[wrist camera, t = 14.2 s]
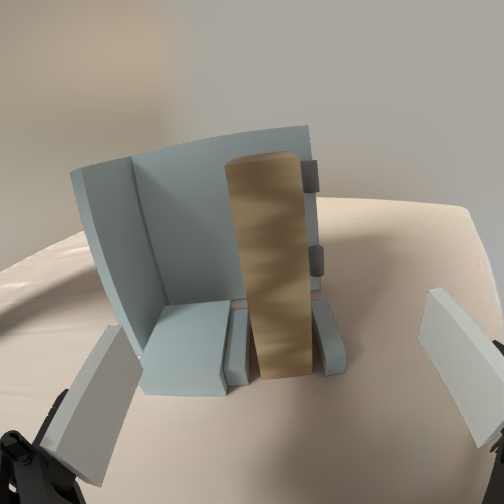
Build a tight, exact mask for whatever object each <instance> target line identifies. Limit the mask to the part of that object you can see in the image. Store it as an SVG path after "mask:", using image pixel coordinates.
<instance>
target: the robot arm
mask: <svg viewBox="0 0 504 504" xmlns="http://www.w3.org/2000/svg"><path fill="white" fill-rule="evenodd" d="M417 340H418V341H419V343H420V344H421V346H422V348H423V349H424V351H425V352H426V354H427V356H428V357H429V359H430V360H431V362H432V364H433V365H434V367H435V369H436V370H437V372H438V374H439V375H440V377H441V379H442V380H443V382H444V384H445V386H446V387H447V389H448V391H449V393H450V395H451V396H452V398H453V400H454V402H455V404H456V406H457V407H458V409H459V411H460V413H461V415H462V417H463V419H464V421H465V423H466V425H467V427H468V429H469V431H470V433H471V435H472V437H473V439H474V441H475V443H476V445H477V448H478V449H479V448H481V447H482V446H484V445H486V444H487V443H489V442H491V441H492V440H493V439H494V438H495V437H496V436H497V435H498V434H499V433H500V431H501V433H502V435H503V436H502V437H501V438H500V439H499V440H498V441H497V442H496V443H495V444H494V445H493V446H492V448H491V450H490V452H493V451H494V450H495V449H496V448H497V447H498V449H497V450H496V452H495V453H497V455H496V459H495V463H494V467H493V471H492V474H491V478H490V481H489V484H488V487H487V490H486V493H485V496H484V499H483V502H482V504H504V345H503V344H501V343H499V342H498V341H496V340H494V341H491V340H490V339H489V338H488V337H487V335H486V334H485V333H484V332H483V331H482V330H481V328H480V327H479V326H478V325H477V324H476V323H475V322H474V321H473V319H472V318H471V317H470V316H469V315H468V314H467V313H466V312H465V311H464V309H463V308H462V307H461V306H460V305H459V304H458V303H457V302H456V301H455V300H454V299H453V298H452V297H451V296H450V295H449V294H448V293H447V292H446V291H445V290H444V289H443V288H442V287H437V288H433V289H428V293H427V298H426V303H425V307H424V312H423V316H422V321H421V325H420V329H419V333H418V336H417ZM143 370H144V369H143V367H142V365H141V363H140V362H139V360H138V358H137V356H136V354H135V352H134V350H133V348H132V345H131V343H130V341H129V339H128V337H127V335H126V333H125V331H124V328H123V326H122V325H112V326H108V327H107V328H106V330H105V331H104V333H103V334H102V336H101V338H100V339H99V341H98V342H97V344H96V345H95V347H94V349H93V350H92V352H91V353H90V355H89V357H88V358H87V360H86V361H85V363H84V365H83V366H82V368H81V370H80V371H79V373H78V375H77V376H76V378H75V380H74V382H73V383H72V385H71V387H70V389H65V390H64V391H63V392H62V393H61V394H60V395H59V396H58V397H57V399H56V401H55V402H54V404H53V406H52V407H53V408H51V409H50V411H49V413H48V416H47V417H46V419H45V420H44V422H43V424H42V426H41V428H40V430H39V432H38V434H37V436H36V438H35V440H34V442H33V443H32V445H31V444H30V443H29V442H28V441H27V440H26V439H25V438H24V437H23V436H22V435H21V434H20V433H19V432H18V431H15V430H11V431H8V432H6V433H5V434H4V435H3V436H2V437H1V439H0V504H86V502H85V500H84V497H83V495H82V492H81V489H80V487H79V485H78V483H77V481H75V478H76V476H77V477H79V478H80V479H81V480H83V481H84V482H86V483H89V484H91V485H94V486H97V487H100V488H101V486H102V483H103V480H104V477H105V474H106V470H107V467H108V464H109V461H110V458H111V456H112V453H113V450H114V447H115V444H116V441H117V438H118V435H119V433H120V430H121V427H122V424H123V422H124V419H125V416H126V414H127V411H128V408H129V406H130V403H131V401H132V398H133V395H134V393H135V390H136V388H137V385H138V383H139V380H140V378H141V375H142V373H143ZM9 483H10V484H11V485H12V486H14V487H15V488H16V492H15V493H14V492H13V491H11V490H10V489H9Z"/></svg>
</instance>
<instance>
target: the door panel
mask: <svg viewBox="0 0 504 504" xmlns="http://www.w3.org/2000/svg"><path fill="white" fill-rule="evenodd" d="M224 168H225V174H226V180H227V186H228V192H229V198H230V204H231V210H232V216H233V222H234V228H235V234H236V240H237V246H238V251H239V257H240V263H241V269H242V274H243V280H244V286H245V291H246V297H247V302H248V308H249V314H250V319H251V325H252V330H253V336H254V341H255V346H256V352H257V357H258V362H259V368H260V373H261V378H262V380H266V379H276V378H285V377H294V376H302V375H309V374H312V321H311V294H310V274H309V257H308V243H307V229H306V217H305V206H304V195H303V185H302V175H301V166H300V158H299V156H297V155H295V154H293V153H290V152H288V151H279V152H270V153H262V154H255V155H247V156H240V157H234V158H233V159H232V160H231V161H230V162H228V163H227V164H226V165H225V166H224Z"/></svg>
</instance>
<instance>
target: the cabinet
mask: <svg viewBox="0 0 504 504" xmlns="http://www.w3.org/2000/svg"><path fill="white" fill-rule="evenodd" d="M279 151H288V152H290V153H293V154H295V155H297V156H299V158H300V166H301V175H302V185H303V195H304V206H305V217H306V229H307V243H308V257H309V274H310V291H313V290H320V289H321V279H320V277H321V276H323V275H324V252H323V247H322V246H320V245H319V236H318V220H317V206H316V194H315V193H316V192H319V191H320V190H319V178H318V168H317V160H312V154H311V145H310V137H309V129H308V125H307V126H294V127H284V128H274V129H266V130H257V131H250V132H243V133H236V134H230V135H223V136H218V137H212V138H207V139H202V140H196V141H192V142H186V143H182V144H177V145H173V146H168V147H164V148H160V149H156V150H152V151H148V152H144V153H140V154H136V155H133V156H130V157H125V158H120V159H115V160H111V161H107V162H102V163H98V164H95V165H90V166H86V167H83V168H79V169H77V170H74V171H71V172H70V175H71V180H72V184H73V189H74V193H75V197H76V201H77V205H78V209H79V213H80V217H81V220H82V224H83V227H84V231H85V234H86V238H87V241H88V244H89V247H90V250H91V253H92V256H93V259H94V262H95V265H96V268H97V271H98V273H99V276H100V279H101V281H102V284H103V287H104V289H105V292H106V294H107V297H108V299H109V302H110V304H111V307H112V309H113V311H114V314H115V316H116V318H117V321H118V323H119V325H122V326H123V328H124V331H125V333H126V335H127V337H128V339H129V341H130V343H131V345H132V348H133V350H134V352H135V354H136V355H142V356H141V358H140V360H139V362H140V363H141V365H142V367H143V369H144V370H143V373H142V375H141V378H140V380H139V383H138V384H139V385H140V387H141V389H142V390H143V392H144V394H150V395H170V396H226V393H227V384H228V386H239V385H249V362H250V334H251V323H250V317H249V312H248V308H245V309H235V310H232V305H231V301H230V300H237V299H247V297H246V291H245V286H244V280H243V274H242V269H241V263H240V257H239V251H238V246H237V240H236V234H235V228H234V222H233V216H232V210H231V204H230V198H229V192H228V186H227V180H226V174H225V168H224V166H225V165H226V164H227V163H228V162H230V161H231V160H232V159H233V158H234V157H240V156H247V155H255V154H262V153H270V152H279ZM168 303H170V305H168ZM167 305H168V306H167ZM311 321H312V324H313V328H314V332H315V336H316V340H317V344H318V348H319V352H320V356H321V360H322V364H323V368H324V372H325V376H329V375H335V374H340V373H345V369H346V360H347V354H346V351H345V348H344V345H343V342H342V340H341V337H340V334H339V331H338V329H337V326H336V323H335V320H334V318H333V315H332V312H331V310H330V307H329V304H328V302H327V299H319V300H312V301H311Z"/></svg>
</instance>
